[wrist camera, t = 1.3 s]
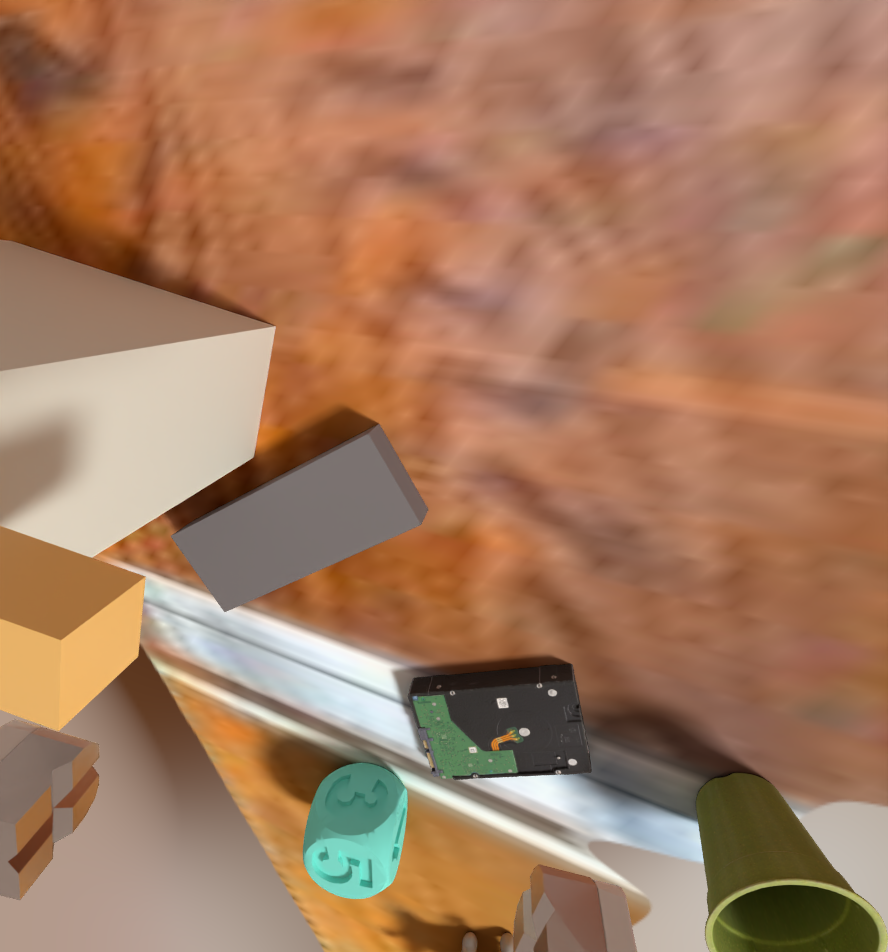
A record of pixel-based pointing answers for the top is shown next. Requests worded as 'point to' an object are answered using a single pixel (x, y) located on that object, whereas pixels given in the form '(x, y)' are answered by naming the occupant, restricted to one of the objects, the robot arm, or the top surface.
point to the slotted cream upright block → (115, 398)
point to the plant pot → (774, 878)
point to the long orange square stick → (62, 627)
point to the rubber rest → (303, 520)
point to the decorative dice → (356, 831)
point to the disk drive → (501, 723)
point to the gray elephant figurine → (471, 942)
